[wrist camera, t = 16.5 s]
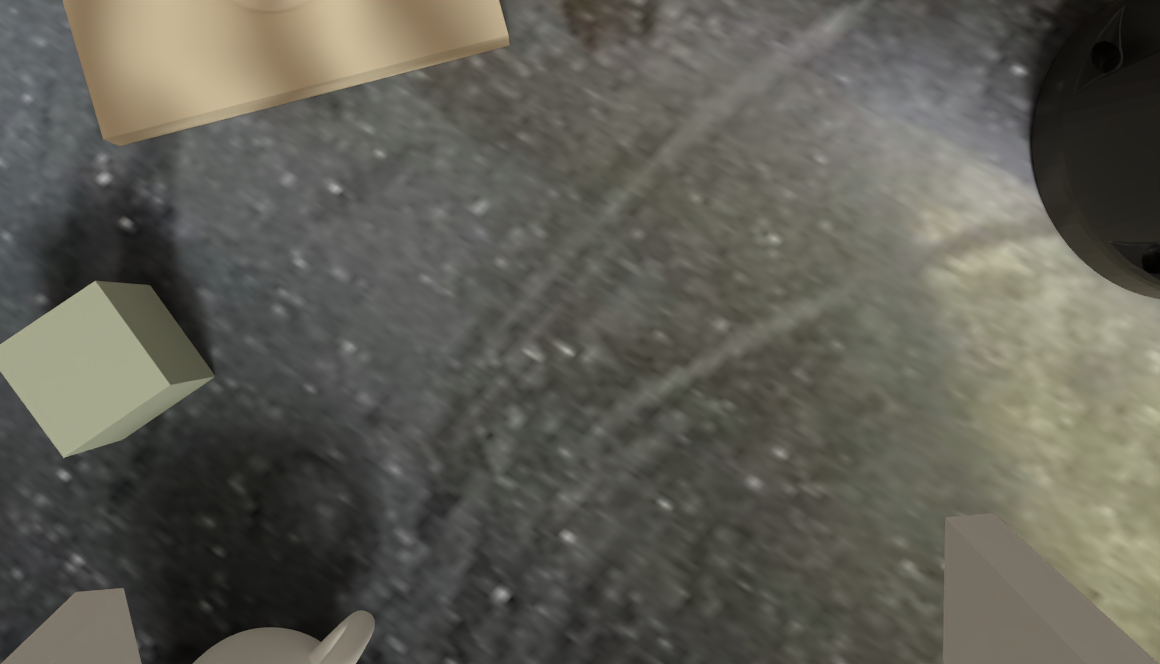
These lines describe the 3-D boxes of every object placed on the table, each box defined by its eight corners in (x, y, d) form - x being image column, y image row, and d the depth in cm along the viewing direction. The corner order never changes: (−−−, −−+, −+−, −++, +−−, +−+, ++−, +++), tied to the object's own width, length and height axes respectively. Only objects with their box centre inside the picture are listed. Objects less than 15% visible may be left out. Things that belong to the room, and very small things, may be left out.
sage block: (150, 285, 39) (95, 280, 34) (216, 376, 39) (170, 385, 34) (57, 348, 39) (-13, 353, 34) (123, 439, 39) (63, 457, 34)
